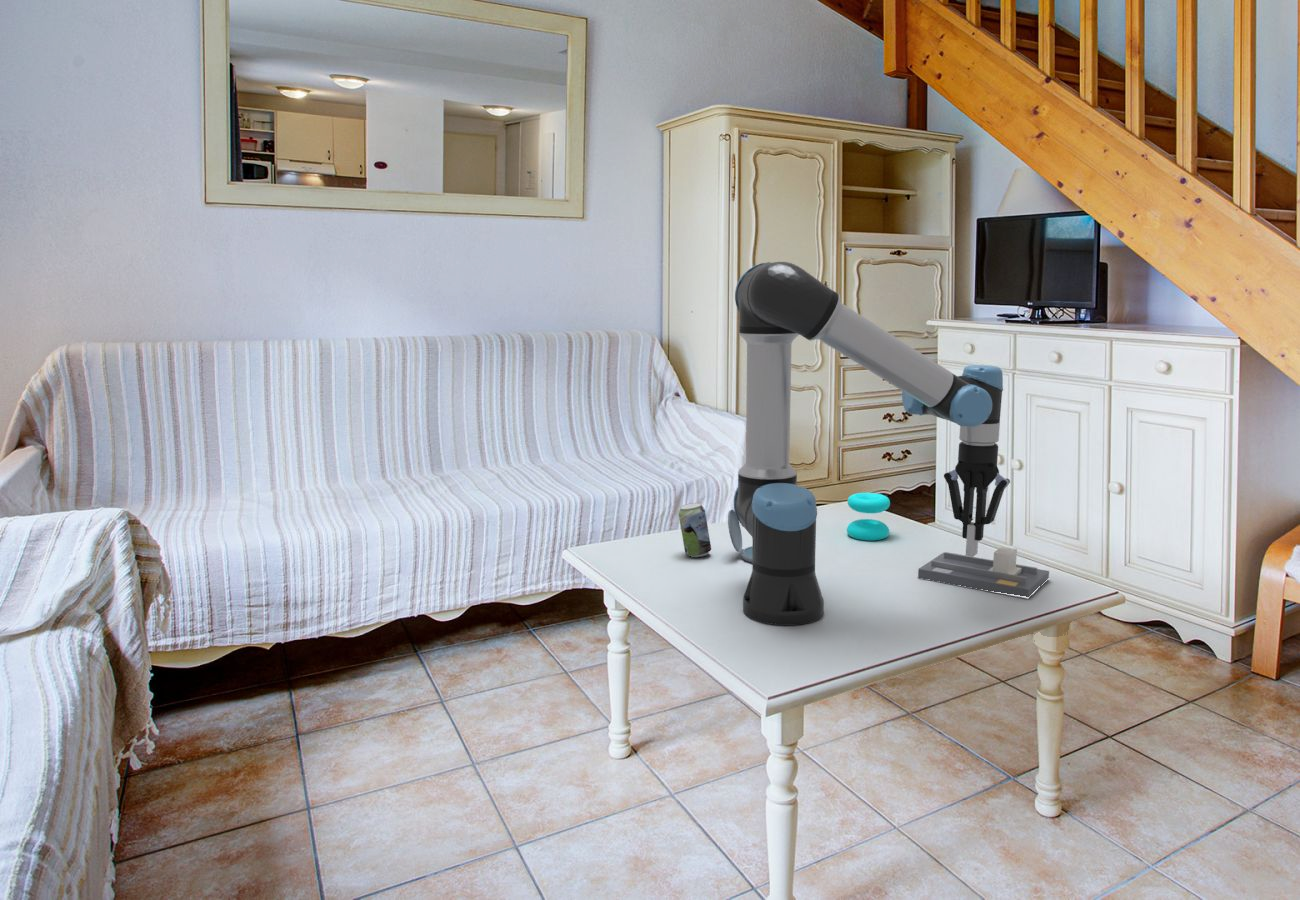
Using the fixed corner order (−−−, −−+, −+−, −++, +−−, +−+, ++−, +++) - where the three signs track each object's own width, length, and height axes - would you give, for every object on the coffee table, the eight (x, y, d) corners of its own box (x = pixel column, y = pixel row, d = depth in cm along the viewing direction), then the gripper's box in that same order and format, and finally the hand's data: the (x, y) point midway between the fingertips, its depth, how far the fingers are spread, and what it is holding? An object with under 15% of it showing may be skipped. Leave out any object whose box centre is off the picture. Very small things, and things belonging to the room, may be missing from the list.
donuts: (891, 492, 220) (889, 502, 210) (889, 532, 221) (888, 543, 212) (849, 490, 222) (845, 499, 213) (848, 529, 224) (844, 540, 215)
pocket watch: (733, 504, 207) (798, 507, 203) (733, 550, 209) (798, 554, 205) (724, 515, 197) (793, 519, 193) (725, 563, 199) (792, 567, 195)
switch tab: (1012, 579, 179) (1013, 556, 178) (986, 575, 182) (988, 552, 181) (1021, 571, 183) (1022, 549, 183) (996, 567, 187) (997, 545, 186)
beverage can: (711, 559, 202) (711, 507, 200) (679, 559, 202) (678, 508, 200) (710, 551, 208) (710, 500, 206) (678, 551, 208) (678, 501, 206)
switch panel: (1028, 599, 174) (1029, 583, 173) (918, 578, 187) (918, 563, 186) (1048, 580, 184) (1049, 565, 184) (943, 561, 198) (943, 547, 197)
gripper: (1017, 443, 181) (1009, 556, 185) (953, 436, 189) (947, 544, 193) (1005, 448, 175) (997, 564, 179) (940, 441, 183) (933, 552, 187)
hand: (971, 554), depth 186 cm, fingers closed
